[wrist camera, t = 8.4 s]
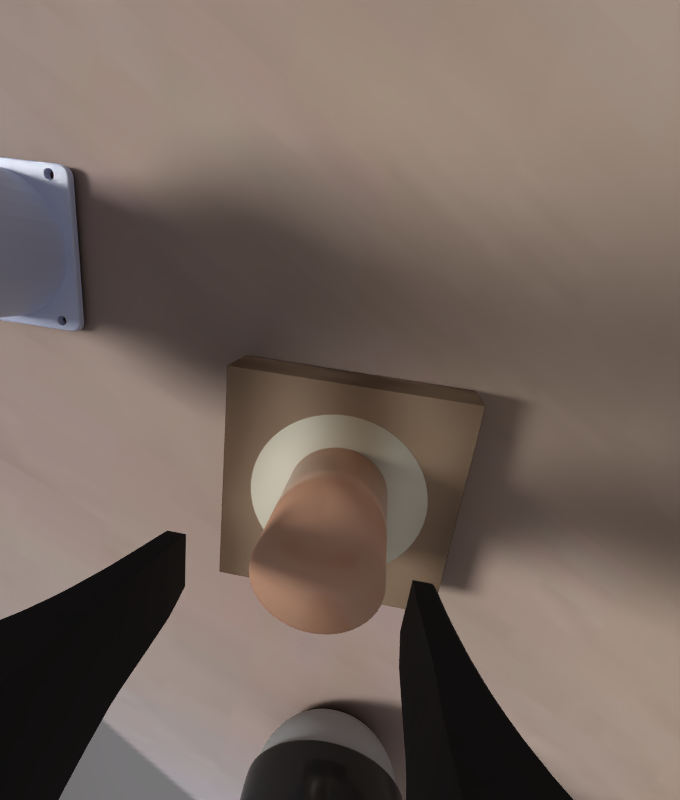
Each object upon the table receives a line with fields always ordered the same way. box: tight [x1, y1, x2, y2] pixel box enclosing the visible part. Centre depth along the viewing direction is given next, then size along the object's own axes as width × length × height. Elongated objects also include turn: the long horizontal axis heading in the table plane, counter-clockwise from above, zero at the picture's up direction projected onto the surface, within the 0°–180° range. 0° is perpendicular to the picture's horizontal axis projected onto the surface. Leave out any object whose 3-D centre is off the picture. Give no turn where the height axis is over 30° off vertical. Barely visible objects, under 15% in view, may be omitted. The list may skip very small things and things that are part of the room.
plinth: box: [220, 356, 485, 609], centre depth 21 cm, size 12×12×2 cm
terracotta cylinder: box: [249, 448, 388, 634], centre depth 17 cm, size 5×5×6 cm
